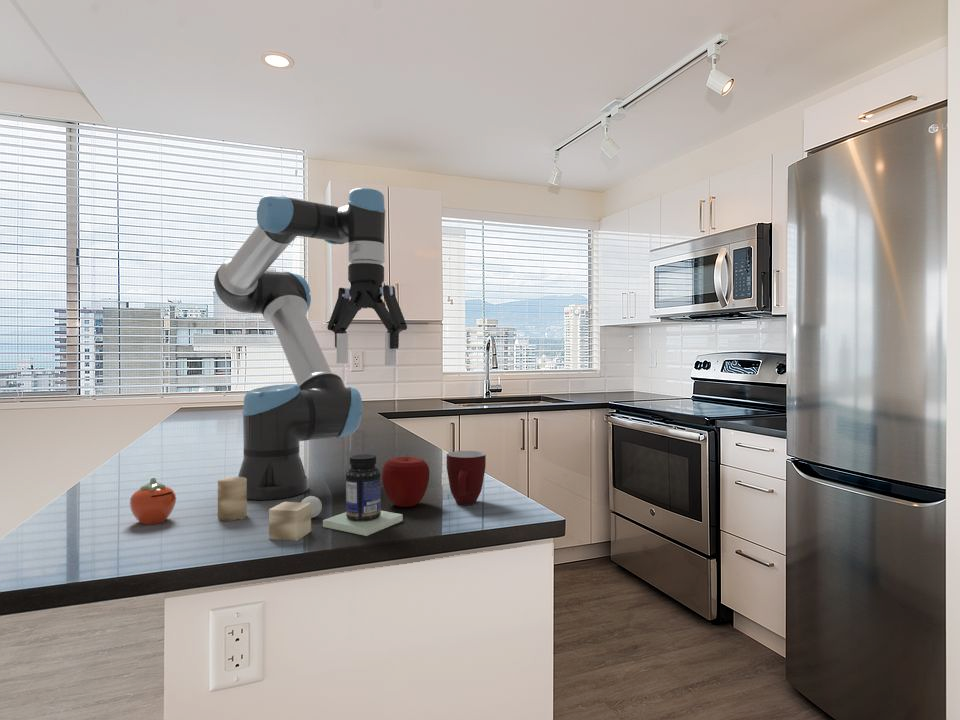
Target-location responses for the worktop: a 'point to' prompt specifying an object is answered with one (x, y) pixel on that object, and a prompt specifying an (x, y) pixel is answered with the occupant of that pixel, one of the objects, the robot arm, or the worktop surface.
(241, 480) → the oak cylinder
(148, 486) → the tomato
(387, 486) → the apple
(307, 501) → the grey ball
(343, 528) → the coaster
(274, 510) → the maple block
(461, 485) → the mug
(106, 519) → the worktop surface
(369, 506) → the pill bottle
